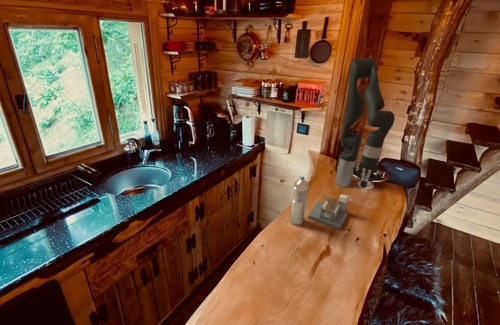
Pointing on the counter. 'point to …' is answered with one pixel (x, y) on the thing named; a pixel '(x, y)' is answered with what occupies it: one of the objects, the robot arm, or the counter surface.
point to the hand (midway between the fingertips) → (362, 187)
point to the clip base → (325, 219)
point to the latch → (343, 198)
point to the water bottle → (299, 201)
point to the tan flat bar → (330, 205)
